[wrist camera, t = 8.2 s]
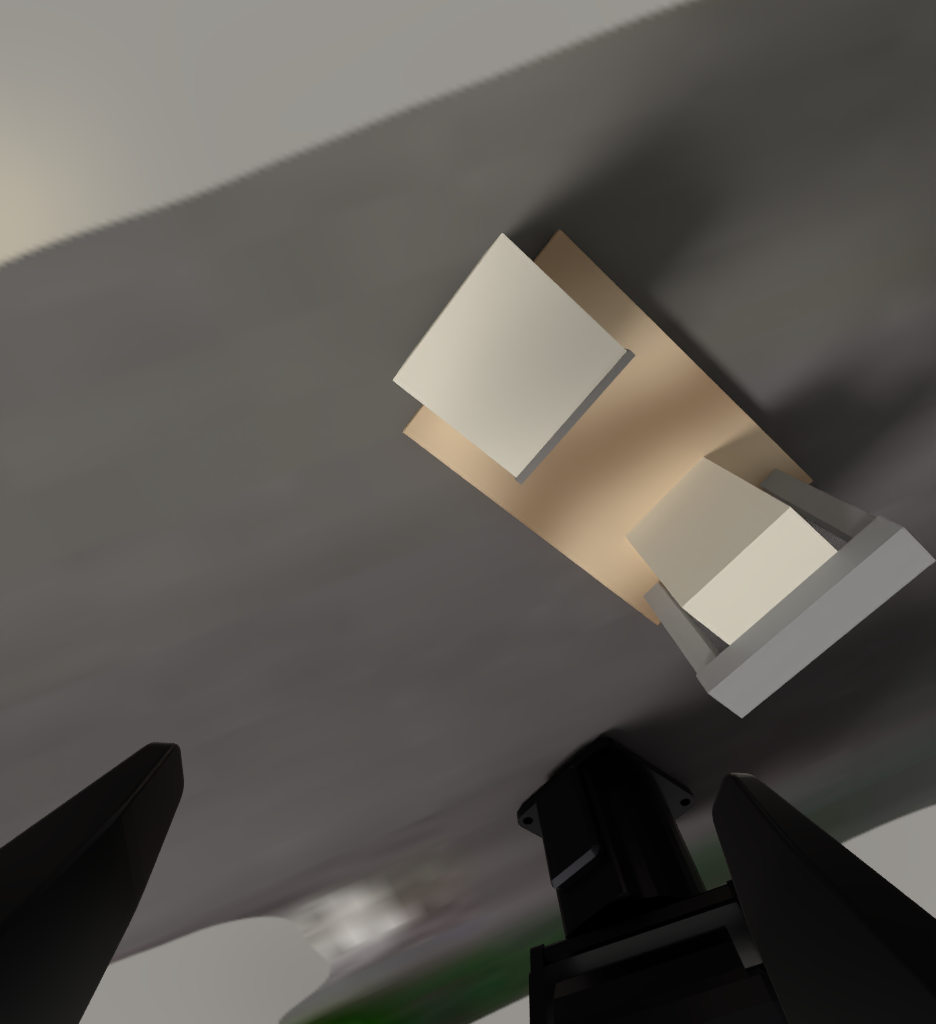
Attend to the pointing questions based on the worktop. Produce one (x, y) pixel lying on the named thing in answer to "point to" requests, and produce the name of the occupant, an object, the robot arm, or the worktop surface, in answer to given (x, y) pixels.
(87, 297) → the worktop surface
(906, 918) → the robot arm
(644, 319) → the board
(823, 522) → the bracketed cream block
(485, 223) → the worktop surface
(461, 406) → the stub
